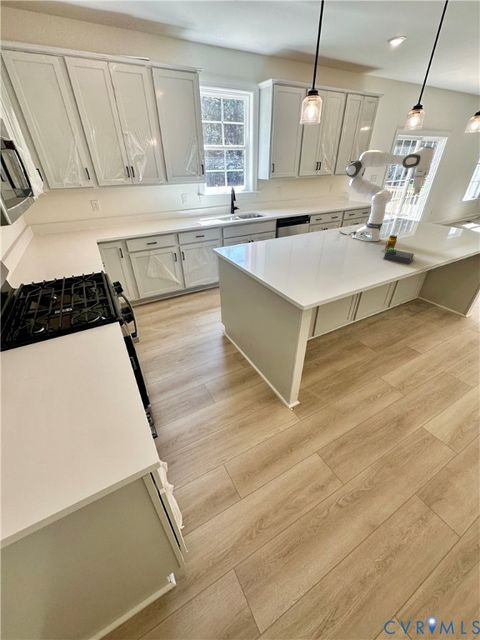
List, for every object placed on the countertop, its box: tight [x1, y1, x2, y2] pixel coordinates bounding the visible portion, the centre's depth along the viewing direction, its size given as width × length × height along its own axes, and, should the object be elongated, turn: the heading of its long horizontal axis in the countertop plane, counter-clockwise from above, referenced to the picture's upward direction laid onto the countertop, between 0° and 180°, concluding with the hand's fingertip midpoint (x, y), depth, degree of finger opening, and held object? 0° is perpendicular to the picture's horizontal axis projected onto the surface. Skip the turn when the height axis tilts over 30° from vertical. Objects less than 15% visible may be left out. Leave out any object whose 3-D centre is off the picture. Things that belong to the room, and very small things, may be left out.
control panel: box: [383, 249, 415, 265], centre depth 185 cm, size 17×13×6 cm
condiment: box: [382, 234, 398, 253], centre depth 198 cm, size 7×8×12 cm
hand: (416, 193), depth 195 cm, fingers open, 8 cm apart
